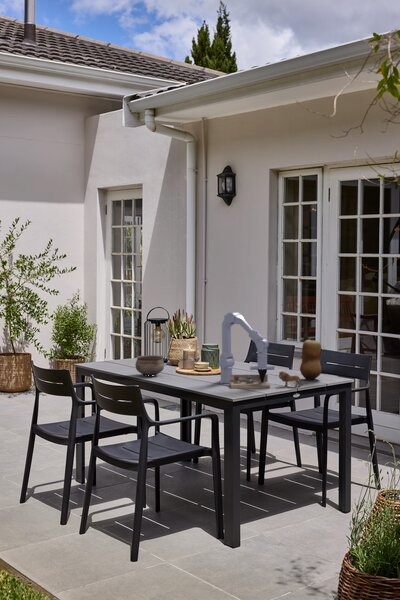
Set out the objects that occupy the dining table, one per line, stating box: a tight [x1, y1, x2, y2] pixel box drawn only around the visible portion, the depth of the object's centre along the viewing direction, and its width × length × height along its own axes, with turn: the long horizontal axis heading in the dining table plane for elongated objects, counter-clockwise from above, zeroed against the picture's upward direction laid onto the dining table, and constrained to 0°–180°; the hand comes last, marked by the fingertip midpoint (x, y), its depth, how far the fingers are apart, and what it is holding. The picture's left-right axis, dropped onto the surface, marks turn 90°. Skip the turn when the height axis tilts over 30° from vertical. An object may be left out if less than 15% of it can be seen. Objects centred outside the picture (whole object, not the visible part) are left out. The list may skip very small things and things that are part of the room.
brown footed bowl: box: [135, 354, 165, 377], centre depth 517 cm, size 25×19×12 cm
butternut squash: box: [299, 339, 322, 381], centre depth 502 cm, size 14×13×25 cm
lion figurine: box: [278, 370, 304, 388], centre depth 475 cm, size 15×5×9 cm, turn 81°
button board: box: [229, 374, 271, 389], centre depth 476 cm, size 14×23×6 cm, turn 92°
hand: (262, 381), depth 476 cm, fingers closed, pressing on button end b
